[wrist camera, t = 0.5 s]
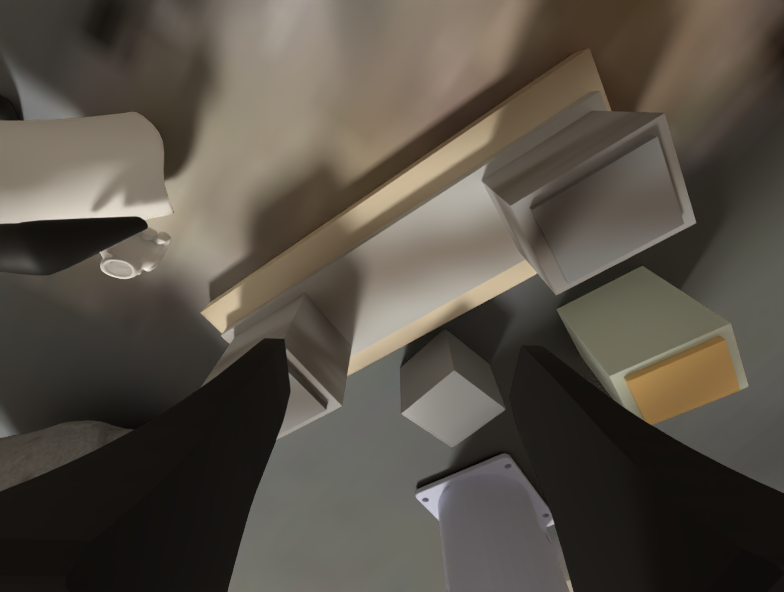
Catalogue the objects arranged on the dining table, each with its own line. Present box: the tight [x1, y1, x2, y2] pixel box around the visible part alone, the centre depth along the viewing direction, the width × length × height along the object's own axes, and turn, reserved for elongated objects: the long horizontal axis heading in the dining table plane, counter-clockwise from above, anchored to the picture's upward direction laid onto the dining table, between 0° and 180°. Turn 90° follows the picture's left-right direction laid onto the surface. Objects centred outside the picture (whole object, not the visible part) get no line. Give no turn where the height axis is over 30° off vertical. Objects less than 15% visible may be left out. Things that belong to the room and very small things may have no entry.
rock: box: [0, 420, 134, 491], centre depth 21 cm, size 17×18×15 cm
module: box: [556, 266, 748, 425], centre depth 19 cm, size 4×5×6 cm
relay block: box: [400, 329, 506, 448], centre depth 22 cm, size 4×4×4 cm
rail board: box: [200, 48, 696, 440], centre depth 17 cm, size 8×22×7 cm, turn 124°
